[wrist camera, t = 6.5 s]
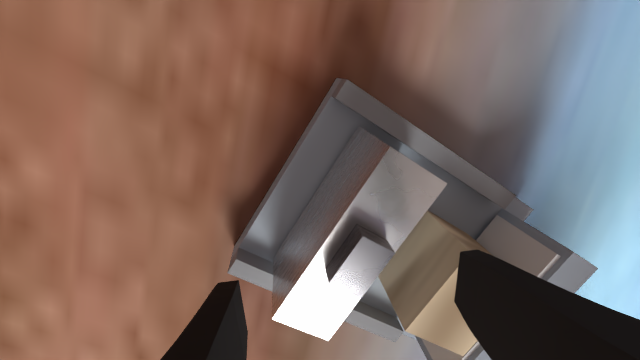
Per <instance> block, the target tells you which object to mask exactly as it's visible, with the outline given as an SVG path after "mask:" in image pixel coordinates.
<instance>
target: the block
mask: <svg viewBox="0 0 640 360" xmlns="http://www.w3.org/2000/svg"><path fill="white" fill-rule="evenodd" d="M477 249H478V250H480V251H483V252H485V253H488V254H490V255H492V254H491V253H490V252H489V251H487V250H486V249H485V248H484V247H483V246H482V245H480V244H479V243H478V242H477V241H476V240H475V239H473V238H472V237H471V236H470V235H469V234H467V233H466V232H464V231H462V230H460V229H459V228H457V227H455V226H454V225H452V224H450V223H449V222H447V221H445V220H444V219H442V218H440V217H439V216H437V215H435V214H434V213H432V212H430V211H429V210H427V211H426V213H425V214H424V215H423V217H422V218H421V219H420V221H419V222H418V223H417V225H416V226H415V227H414V229H413V230H412V231H411V233H410V234H409V235H408V237H407V238H406V239H405V240H404V242H403V243H402V244H401V246H400V247H399V248H398V250H397V251H396V252H395V254H394V256H393V257H392V258H391V260H390V261H389V262H388V264H387V265H386V266H385V268H384V269H383V270H382V272H381V273H380V274H379V276H378V277H379V279H380V281H381V283H382V285H383V287H384V289H385V291H386V293H387V295H388V297H389V300H390V302H391V304H392V306H393V308H394V310H395V312H396V314H397V316H398V318H399V320H400V322H401V324H402V326H403V328H404V330H405V331H406V332H408V333H410V334H413V335H415V336H417V337H420V338H422V339H424V340H427V341H429V342H431V343H434V344H436V345H438V346H441V347H443V348H445V349H447V350H450V351H452V352H454V353H457V354H459V355H461V356H464V355H465V354H466V353H467V351H468V350H469V349H470V348H471V347H472V346H473V345H474V344H475V343H476V342H477V339H476V338H475V336H474V335H473V334H472V332H471V331H470V329H469V327H468V326H467V324H466V322H465V320H464V319H463V317H462V315H461V313H460V311H459V310H458V308H457V306H456V304H455V302H454V298H455V290H456V282H457V274H458V266H459V257H460V252H461V251H469V250H477ZM492 256H493V255H492Z"/></svg>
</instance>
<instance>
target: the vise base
mask: <svg viewBox="0 0 640 360" xmlns="http://www.w3.org/2000/svg"><path fill="white" fill-rule="evenodd" d="M358 126H360V127H362V128H363V129H365V130H366V131H368V132H369V133H371V134H372V135H374V136H375V137H377V138H379V139H380V140H382V141H383V142H385V143H386V144H388V145H389V146H391V147H393V148H394V149H396V150H397V151H399V152H400V153H402V154H403V155H405V156H406V157H408V158H409V159H411V160H412V161H414V162H415V163H417V164H419V165H420V166H422V167H423V168H425V169H426V170H428V171H429V172H431V173H432V174H434V175H435V176H437V177H438V178H440V179H441V180H443V181H444V182H446V183H447V185H446V186H445V188H444V189H443V190H442V192H441V193H440V194H439V196H438V197H437V198H436V200H435V201H434V202H433V204H432V205H431V206H430V208H429V209H428V210H429V211H430V212H432V213H434V214H435V215H437V216H439V217H440V218H442V219H444V220H445V221H447V222H449V223H450V224H452V225H454V226H455V227H457V228H459V229H460V230H462V231H464V232H466V233H467V234H469V235H470V236H471V237H472V238H473V239H475V240H476V241H477V242H478V243H479V244H480V245H482V246H483V247H484V248H485V249H486V250H487V251H489V252H490V253H491V254H492V255H493V256H495V257H497V258H499V259H501V260H503V261H505V262H507V263H510V264H512V265H514V266H516V267H518V268H520V269H522V270H524V271H526V272H529V273H531V274H533V275H535V276H537V277H539V278H541V279H543V280H545V281H548V282H550V283H552V284H554V285H556V286H558V287H561V288H563V289H565V290H567V291H570V292H572V293H575V292H576V291H577V290H578V289H579V288H580V287H581V286H582V285H583V284H584V283H585V282H586V281H587V280H588V279H589V278H590V276H591V275H592V274H593V273H594V272H595V271H596V270H597V269H598V268H597V267H595V266H594V265H592V264H591V263H589V262H588V261H586V260H585V259H583V258H582V257H580V256H579V255H577V254H576V253H574V252H573V251H571V250H569V249H568V248H566V247H565V246H563V245H561V244H560V243H558V242H556V241H555V240H553V239H551V238H550V237H548V236H547V235H545V234H543V233H542V232H540V231H538V230H537V229H535V228H533V227H532V226H530V225H529V224H527V223H525V222H524V220H525V219H526V218H527V217H528V216H529V214H530V213H531V212H532V211H533V209H532V208H530V207H529V206H527V205H526V204H524V203H523V202H521V201H520V200H519V199H517V198H516V195H515V194H513V193H512V192H510V191H509V190H507V189H506V188H504V187H503V186H502V185H500V184H499V183H497V182H496V181H494V180H493V179H491V178H490V177H488V176H487V175H486V174H484V173H483V172H481V171H480V170H478V169H477V168H475V167H474V166H472V165H471V164H470V163H468V162H467V161H465V160H464V159H462V158H461V157H459V156H458V155H456V154H455V153H454V152H452V151H451V150H449V149H448V148H446V147H445V146H443V145H442V144H440V143H439V142H438V141H436V140H435V139H433V138H432V137H430V136H429V135H427V134H426V133H424V132H423V131H422V130H420V129H419V128H417V127H416V126H414V125H413V124H411V123H410V122H409V121H407V120H406V119H404V118H403V117H401V116H400V115H398V114H397V113H395V112H394V111H393V110H391V109H390V108H388V107H387V106H385V105H384V104H382V103H381V102H379V101H378V100H377V99H375V98H374V97H372V96H371V95H369V94H368V93H366V92H365V91H363V90H362V89H361V88H359V87H358V86H356V85H355V84H353V83H352V82H350V81H349V80H347V79H341V78H336V80H335V81H334V83H333V85H332V86H331V88H330V90H329V91H328V93H327V95H326V96H325V98H324V100H323V101H322V103H321V105H320V106H319V108H318V109H317V111H316V113H315V114H314V116H313V118H312V119H311V121H310V123H309V124H308V126H307V128H306V129H305V131H304V133H303V134H302V136H301V137H300V139H299V141H298V142H297V144H296V146H295V147H294V149H293V151H292V152H291V154H290V156H289V157H288V159H287V160H286V162H285V164H284V165H283V167H282V169H281V170H280V172H279V174H278V175H277V177H276V179H275V180H274V182H273V184H272V185H271V187H270V188H269V190H268V192H267V193H266V195H265V197H264V198H263V200H262V202H261V203H260V205H259V207H258V208H257V210H256V212H255V213H254V215H253V216H252V218H251V220H250V221H249V223H248V225H247V226H246V228H245V230H244V231H243V233H242V235H241V236H240V238H239V240H238V241H237V243H236V244H235V246H234V249H233V253H232V257H231V261H230V265H229V269H228V273H229V274H231V275H234V276H236V277H238V278H241V279H243V280H246V281H248V282H250V283H253V284H255V285H258V286H260V287H263V288H265V289H267V290H270V291H272V290H273V257H274V255H275V254H276V252H277V251H278V249H279V248H280V246H281V245H282V243H283V242H284V240H285V238H286V237H287V235H288V234H289V232H290V231H291V229H292V228H293V226H294V225H295V223H296V222H297V220H298V218H299V217H300V215H301V214H302V212H303V211H304V209H305V208H306V206H307V205H308V203H309V202H310V200H311V198H312V197H313V195H314V194H315V192H316V191H317V189H318V188H319V186H320V185H321V183H322V182H323V180H324V178H325V177H326V175H327V174H328V172H329V171H330V169H331V168H332V166H333V165H334V163H335V161H336V160H337V158H338V157H339V155H340V154H341V152H342V151H343V149H344V148H345V146H346V145H347V143H348V141H349V140H350V138H351V137H352V135H353V134H354V132H355V131H356V129H357V128H358ZM344 321H345V322H347V323H349V324H352V325H354V326H357V327H359V328H362V329H364V330H366V331H369V332H371V333H374V334H376V335H378V336H381V337H383V338H386V339H388V340H390V341H393V342H396V341H397V339H398V338H399V337H400V336H401V334H404V335H406V336H408V337H411V338H413V339H415V340H417V341H418V343H419V344H420V346H421V348H422V350H423V352H424V354H425V356H426V358H427V360H491V358H490V357H489V356H488V354H487V353H486V352H485V350H484V349H483V347H482V346H481V345H480V343H479V342H478V341H477V342H476V343H475V344H474V345H473V346H472V347H471V348H470V349H469V350H468V351H467V353H466V354H465V355H464V356H461V355H459V354H457V353H454V352H452V351H450V350H447V349H445V348H443V347H441V346H438V345H436V344H434V343H431V342H429V341H427V340H424V339H422V338H420V337H417V336H415V335H413V334H410V333H408V332H406V331H405V330H404V328H403V326H402V324H401V322H400V320H399V318H398V316H397V314H396V312H395V310H394V308H393V306H392V304H391V302H390V300H389V297H388V295H387V293H386V291H385V289H384V287H383V285H382V283H381V281H380V279H379V277H377V278H376V280H375V281H374V282H373V283H372V285H371V286H370V287H369V289H368V290H367V291H366V293H365V294H364V295H363V297H362V298H360V300H359V301H358V302H357V304H356V305H355V306H354V308H353V309H352V310H351V312H350V313H349V314H348V316H347V317H346V318H345V320H344Z"/></svg>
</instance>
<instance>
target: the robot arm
mask: <svg viewBox="0 0 640 360" xmlns="http://www.w3.org/2000/svg"><path fill="white" fill-rule="evenodd" d="M454 302H455V304H456V306H457V308H458V310H459V311H460V313H461V315H462V317H463V319H464V320H465V322H466V324H467V326H468V327H469V329H470V331H471V332H472V334H473V335H474V336H475V338H476V339H477V341H478V342H479V343H480V345H481V346H482V347H483V349H484V350H485V352H486V353H487V354H488V356H489V357H490V358H491V360H640V320H639V319H636V318H634V317H631V316H628V315H625V314H623V313H620V312H617V311H615V310H612V309H610V308H607V307H605V306H602V305H600V304H598V303H595V302H593V301H591V300H588V299H586V298H584V297H581V296H579V295H577V294H574V293H572V292H570V291H567V290H565V289H563V288H561V287H558V286H556V285H554V284H552V283H550V282H548V281H545V280H543V279H541V278H539V277H537V276H535V275H533V274H531V273H529V272H526V271H524V270H522V269H520V268H518V267H516V266H514V265H512V264H510V263H507V262H505V261H503V260H501V259H499V258H497V257H495V256H492V255H490V254H488V253H485V252H483V251H480V250H478V249H477V250H469V251H461V252H460V257H459V266H458V274H457V282H456V290H455V298H454ZM247 335H248V331H247V325H246V320H245V314H244V308H243V303H242V297H241V291H240V286H239V280H237V281H229V282H221V283H218V284H217V285H216V286H215V287H214V289H213V290H212V292H211V293H210V294H209V296H208V297H207V299H206V300H205V302H204V303H203V305H202V306H201V307H200V309H199V310H198V312H197V313H196V314H195V316H194V317H193V319H192V320H191V321H190V323H189V324H188V325H187V327H186V328H185V329H184V331H183V332H182V333H181V335H180V336H179V337H178V339H177V340H176V341H175V342H174V344H173V345H172V346H171V347H170V349H169V350H168V351H167V352H166V353H165V355H164V356H163V357H162V358H161V360H246V357H247Z"/></svg>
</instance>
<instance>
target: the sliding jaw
mask: <svg viewBox="0 0 640 360" xmlns="http://www.w3.org/2000/svg"><path fill="white" fill-rule="evenodd" d="M446 185H447V183H446V182H444V181H443V180H441V179H440V178H438V177H437V176H435V175H434V174H432V173H431V172H429V171H428V170H426V169H425V168H423V167H422V166H420V165H419V164H417V163H415V162H414V161H412V160H411V159H409V158H408V157H406V156H405V155H403V154H402V153H400V152H399V151H397V150H396V149H394V148H393V147H391V146H389V145H388V144H386V143H385V142H383V141H382V140H380V139H379V138H377V137H375V136H374V135H372V134H371V133H369V132H368V131H366V130H365V129H363V128H362V127H360V126H358V128H357V129H356V131H355V132H354V134H353V135H352V137H351V138H350V140H349V141H348V143H347V145H346V146H345V148H344V149H343V151H342V152H341V154H340V155H339V157H338V158H337V160H336V161H335V163H334V165H333V166H332V168H331V169H330V171H329V172H328V174H327V175H326V177H325V178H324V180H323V182H322V183H321V185H320V186H319V188H318V189H317V191H316V192H315V194H314V195H313V197H312V198H311V200H310V202H309V203H308V205H307V206H306V208H305V209H304V211H303V212H302V214H301V215H300V217H299V218H298V220H297V222H296V223H295V225H294V226H293V228H292V229H291V231H290V232H289V234H288V235H287V237H286V238H285V240H284V242H283V243H282V245H281V246H280V248H279V249H278V251H277V252H276V254H275V255H274V257H273V290H272V319H273V320H276V321H278V322H281V323H283V324H286V325H289V326H291V327H294V328H296V329H299V330H302V331H304V332H307V333H309V334H312V335H315V336H317V337H320V338H322V339H325V340H328V341H329V339H330V338H331V337H332V335H333V334H334V333H335V331H336V330H337V329H338V327H339V326H340V325H341V324H342V322H343V321H344V320H345V318H346V317H347V316H348V314H349V313H350V312H351V310H352V309H353V308H354V306H355V305H356V304H357V302H358V301H359V300H360V298H362V297H363V295H364V294H365V293H366V291H367V290H368V289H369V287H370V286H371V285H372V283H373V282H374V281H375V280H376V278H377V277H378V276H379V274H380V273H381V272H382V270H383V269H384V268H385V266H386V265H387V264H388V262H389V261H390V260H391V258H392V257H393V256H394V254H395V252H396V251H397V250H398V248H399V247H400V246H401V244H402V243H403V242H404V240H405V239H406V238H407V237H408V235H409V234H410V233H411V231H412V230H413V229H414V227H415V226H416V225H417V223H418V222H419V221H420V219H421V218H422V217H423V215H424V214H425V213H426V211H427V210H428V209H429V208H430V206H431V205H432V204H433V202H434V201H435V200H436V198H437V197H438V196H439V194H440V193H441V192H442V190H443V189H444V188H445V186H446Z"/></svg>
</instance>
